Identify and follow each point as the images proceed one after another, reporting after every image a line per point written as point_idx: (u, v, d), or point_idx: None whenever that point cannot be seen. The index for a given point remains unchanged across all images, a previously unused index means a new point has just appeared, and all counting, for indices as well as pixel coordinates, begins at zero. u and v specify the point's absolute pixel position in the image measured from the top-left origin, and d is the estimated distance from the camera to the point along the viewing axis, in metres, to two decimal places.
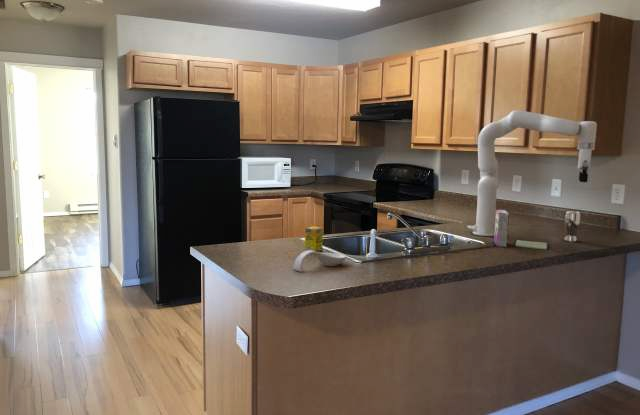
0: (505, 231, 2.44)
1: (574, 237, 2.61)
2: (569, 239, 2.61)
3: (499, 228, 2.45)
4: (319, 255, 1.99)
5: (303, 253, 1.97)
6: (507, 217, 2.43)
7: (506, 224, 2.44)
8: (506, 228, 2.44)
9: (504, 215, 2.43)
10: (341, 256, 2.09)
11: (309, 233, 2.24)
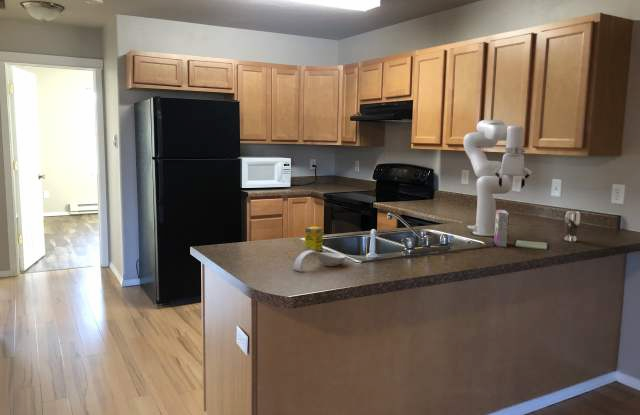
0: (505, 231, 2.44)
1: (574, 237, 2.61)
2: (569, 239, 2.61)
3: (499, 228, 2.45)
4: (319, 255, 1.99)
5: (303, 253, 1.97)
6: (507, 217, 2.43)
7: (506, 224, 2.44)
8: (506, 228, 2.44)
9: (504, 215, 2.43)
10: (341, 256, 2.09)
11: (309, 233, 2.24)
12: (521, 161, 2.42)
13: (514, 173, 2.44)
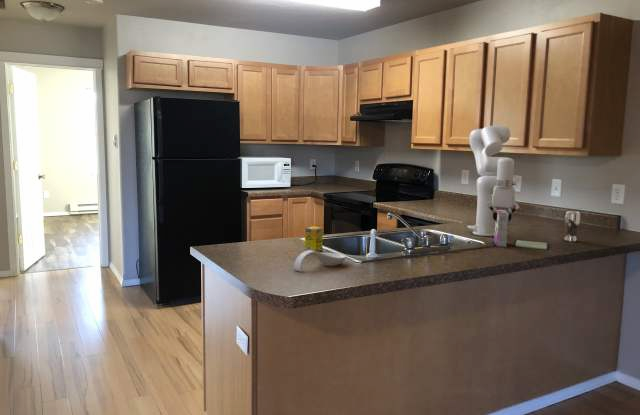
0: (505, 231, 2.44)
1: (574, 237, 2.61)
2: (569, 239, 2.61)
3: (499, 228, 2.45)
4: (319, 255, 1.99)
5: (303, 253, 1.97)
6: (507, 217, 2.43)
7: (506, 224, 2.44)
8: (506, 228, 2.44)
9: (504, 215, 2.43)
10: (341, 256, 2.09)
11: (309, 233, 2.24)
12: (512, 194, 2.44)
13: (504, 205, 2.46)
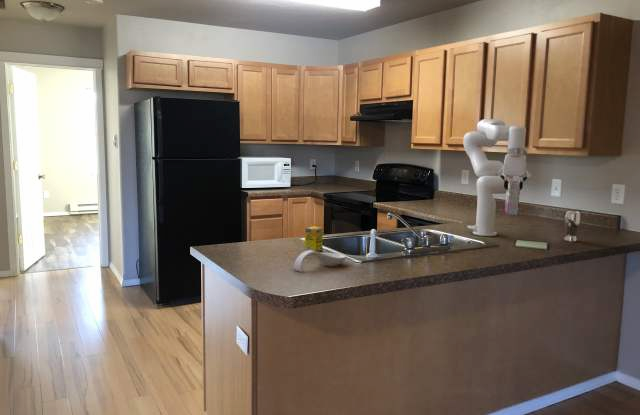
0: (516, 199, 2.42)
1: (574, 237, 2.61)
2: (569, 239, 2.61)
3: (510, 196, 2.42)
4: (319, 255, 1.99)
5: (303, 253, 1.97)
6: (518, 185, 2.41)
7: (517, 192, 2.41)
8: (517, 196, 2.42)
9: (515, 183, 2.41)
10: (341, 256, 2.09)
11: (309, 233, 2.24)
12: (523, 161, 2.41)
13: (516, 174, 2.44)
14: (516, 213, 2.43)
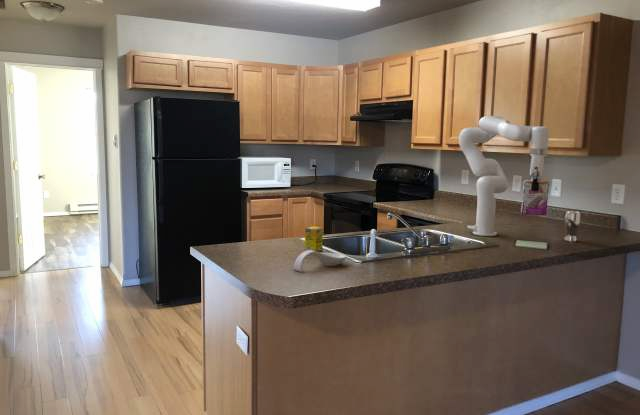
0: None
1: (574, 237, 2.61)
2: (569, 239, 2.61)
3: (547, 197, 2.44)
4: (319, 255, 1.99)
5: (303, 253, 1.97)
6: None
7: None
8: None
9: None
10: (341, 256, 2.09)
11: (309, 233, 2.24)
12: None
13: (541, 174, 2.46)
14: None
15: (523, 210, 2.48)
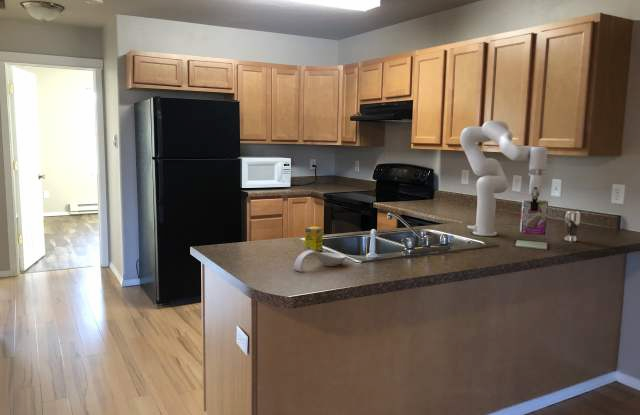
0: None
1: (574, 237, 2.61)
2: (569, 239, 2.61)
3: (546, 216, 2.46)
4: (319, 255, 1.99)
5: (303, 253, 1.97)
6: None
7: None
8: None
9: None
10: (341, 256, 2.09)
11: (309, 233, 2.24)
12: None
13: None
14: None
15: (522, 230, 2.48)
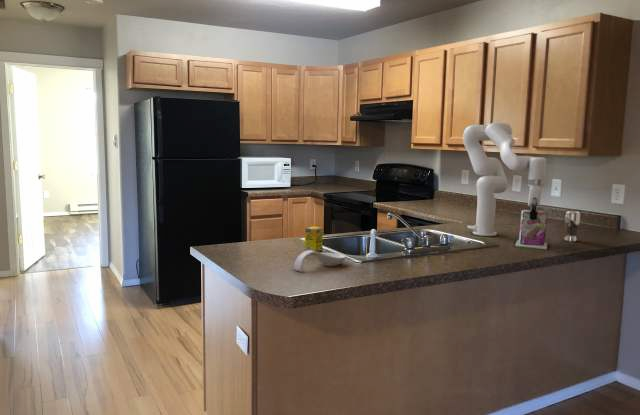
0: None
1: (574, 237, 2.61)
2: (569, 239, 2.61)
3: (545, 227, 2.47)
4: (319, 255, 1.99)
5: (303, 253, 1.97)
6: None
7: None
8: None
9: None
10: (341, 256, 2.09)
11: (309, 233, 2.24)
12: None
13: None
14: None
15: (521, 240, 2.49)
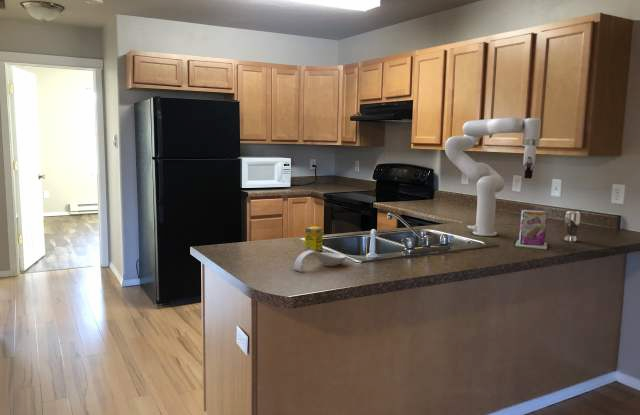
0: None
1: (574, 237, 2.61)
2: (569, 239, 2.61)
3: (545, 227, 2.47)
4: (319, 255, 1.99)
5: (303, 253, 1.97)
6: None
7: None
8: None
9: None
10: (341, 256, 2.09)
11: (309, 233, 2.24)
12: None
13: None
14: None
15: (521, 240, 2.49)
